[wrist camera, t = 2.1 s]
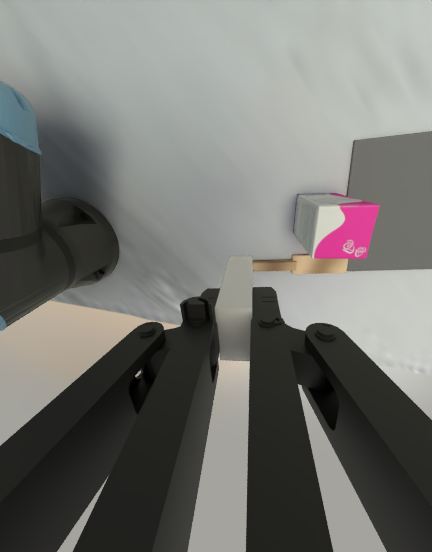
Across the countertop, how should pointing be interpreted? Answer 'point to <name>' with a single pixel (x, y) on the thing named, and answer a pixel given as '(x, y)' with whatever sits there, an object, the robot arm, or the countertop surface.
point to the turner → (302, 265)
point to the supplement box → (334, 225)
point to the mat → (395, 200)
